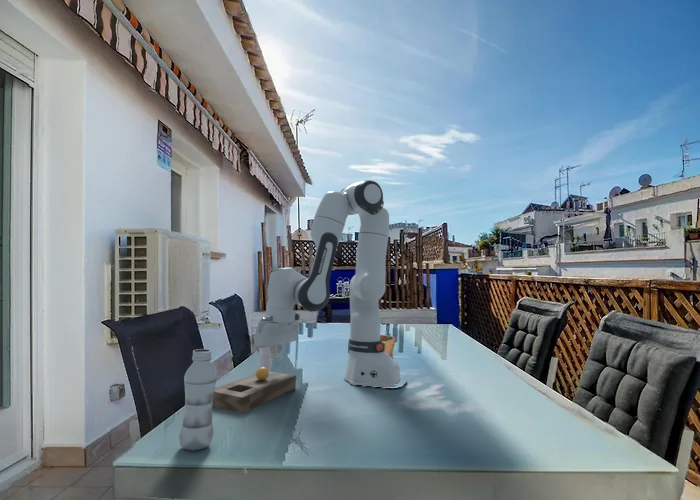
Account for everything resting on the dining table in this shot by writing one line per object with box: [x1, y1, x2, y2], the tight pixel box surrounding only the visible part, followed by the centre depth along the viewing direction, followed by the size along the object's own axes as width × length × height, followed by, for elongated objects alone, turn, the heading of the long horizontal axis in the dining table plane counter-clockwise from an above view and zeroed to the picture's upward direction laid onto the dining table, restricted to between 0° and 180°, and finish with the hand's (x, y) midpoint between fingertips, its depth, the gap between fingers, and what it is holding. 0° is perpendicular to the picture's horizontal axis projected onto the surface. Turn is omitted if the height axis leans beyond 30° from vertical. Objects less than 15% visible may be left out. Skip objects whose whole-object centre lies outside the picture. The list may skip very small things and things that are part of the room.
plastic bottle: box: [178, 348, 218, 451], centre depth 79 cm, size 6×7×20 cm
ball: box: [255, 367, 269, 380], centre depth 116 cm, size 4×4×4 cm
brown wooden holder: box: [212, 370, 297, 414], centre depth 113 cm, size 12×26×4 cm, turn 155°
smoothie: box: [257, 347, 274, 372], centre depth 143 cm, size 6×6×14 cm
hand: (275, 358), depth 124 cm, fingers closed
